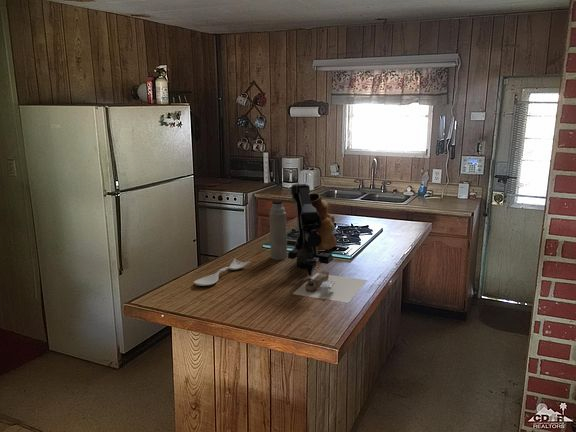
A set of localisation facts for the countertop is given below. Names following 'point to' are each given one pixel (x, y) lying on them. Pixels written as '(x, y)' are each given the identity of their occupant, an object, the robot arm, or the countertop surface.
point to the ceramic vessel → (324, 222)
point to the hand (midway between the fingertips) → (310, 275)
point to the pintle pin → (310, 282)
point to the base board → (335, 289)
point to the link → (317, 282)
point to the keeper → (327, 287)
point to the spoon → (214, 277)
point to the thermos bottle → (278, 231)
